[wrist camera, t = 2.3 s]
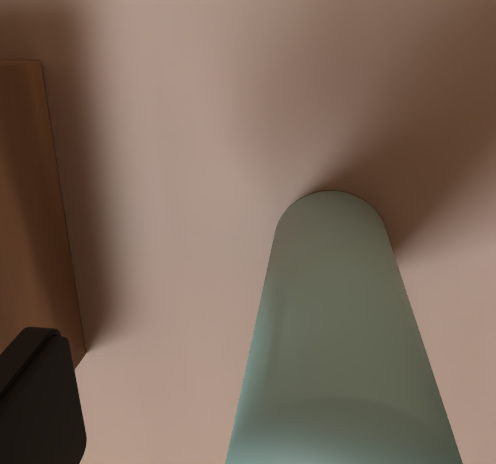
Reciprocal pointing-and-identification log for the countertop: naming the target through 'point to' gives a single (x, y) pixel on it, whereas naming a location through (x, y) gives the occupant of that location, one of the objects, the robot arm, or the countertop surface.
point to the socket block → (32, 215)
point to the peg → (337, 350)
